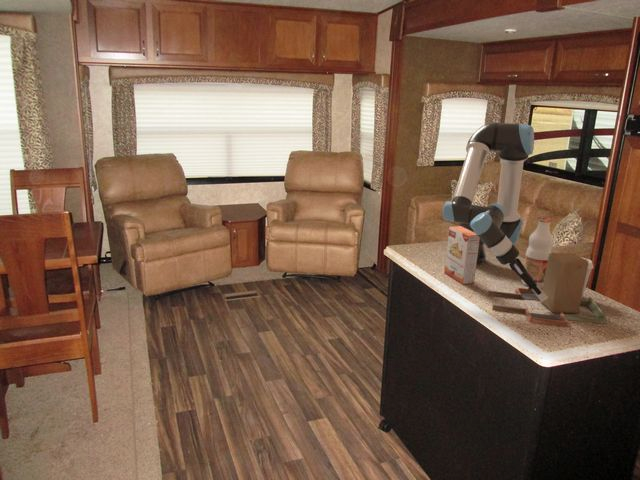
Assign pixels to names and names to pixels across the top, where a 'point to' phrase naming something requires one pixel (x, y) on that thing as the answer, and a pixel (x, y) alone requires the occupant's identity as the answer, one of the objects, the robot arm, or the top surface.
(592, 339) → the top surface
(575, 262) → the wooden block
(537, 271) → the fruit juice
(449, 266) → the cracker box
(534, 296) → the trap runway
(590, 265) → the coffee cup
